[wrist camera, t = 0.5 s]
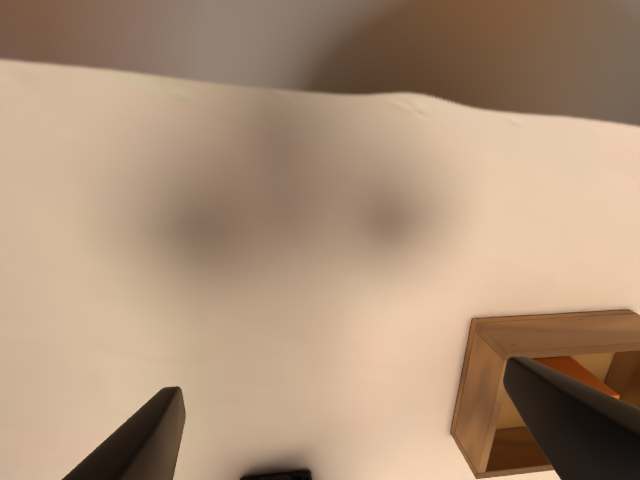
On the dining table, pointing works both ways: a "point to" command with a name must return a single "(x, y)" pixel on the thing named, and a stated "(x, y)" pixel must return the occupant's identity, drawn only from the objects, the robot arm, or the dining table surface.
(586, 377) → the toy bear
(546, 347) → the wooden box
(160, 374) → the dining table surface
